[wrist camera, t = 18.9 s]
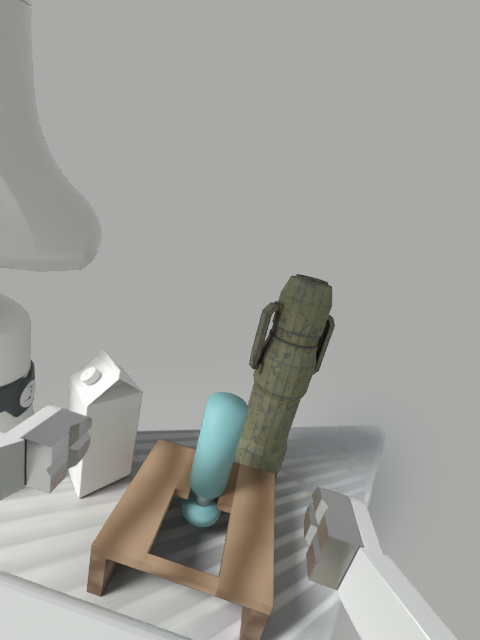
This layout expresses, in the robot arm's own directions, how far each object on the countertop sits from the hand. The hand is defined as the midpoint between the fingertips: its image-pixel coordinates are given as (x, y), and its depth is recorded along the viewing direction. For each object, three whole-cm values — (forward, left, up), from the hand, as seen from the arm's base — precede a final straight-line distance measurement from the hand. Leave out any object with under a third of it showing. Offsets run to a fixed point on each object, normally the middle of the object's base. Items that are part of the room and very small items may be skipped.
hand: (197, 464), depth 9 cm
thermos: (+17, +28, -30) cm, 45 cm away
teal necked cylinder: (+7, +19, -27) cm, 34 cm away
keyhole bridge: (+6, +16, -30) cm, 34 cm away
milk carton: (-8, +27, -30) cm, 41 cm away
